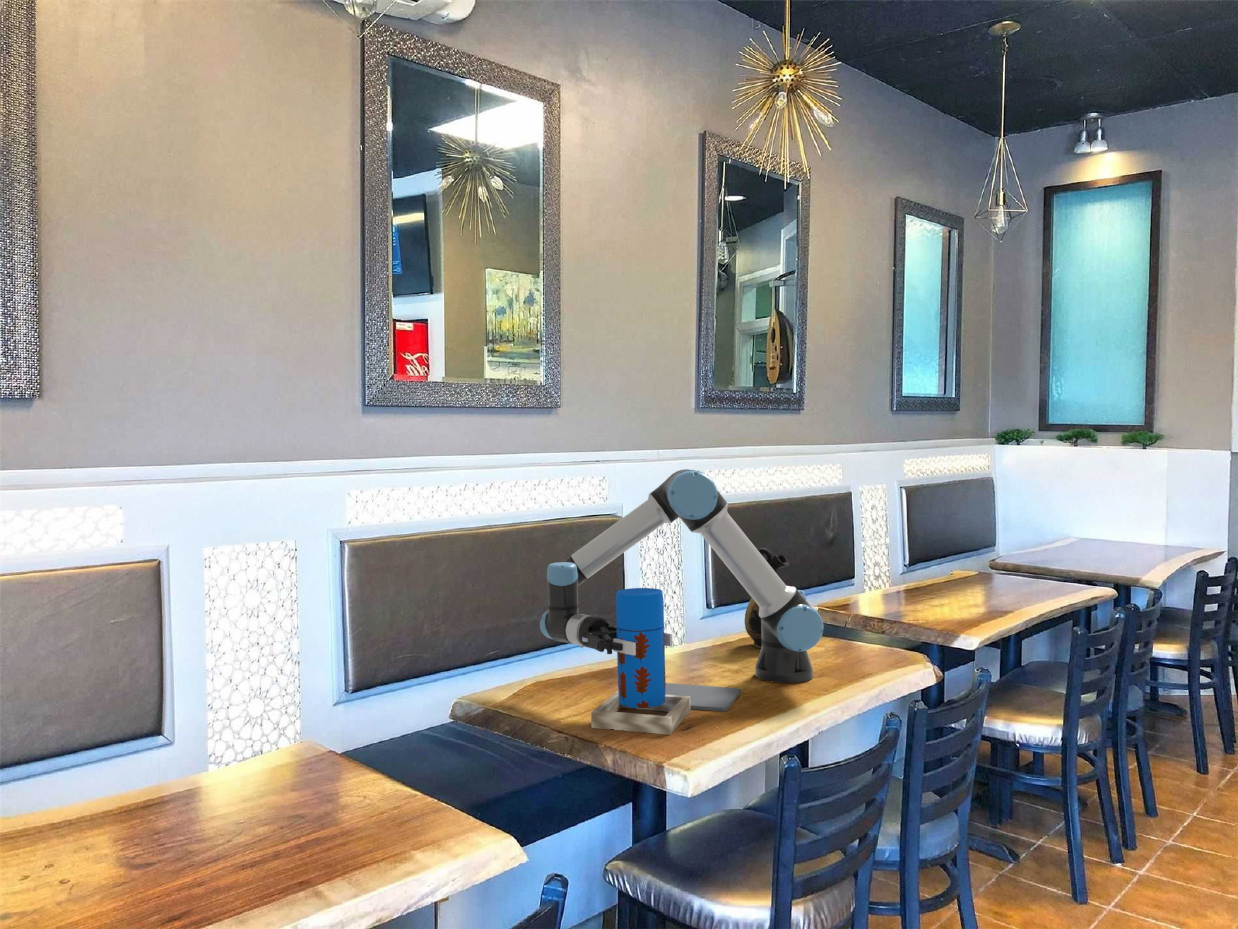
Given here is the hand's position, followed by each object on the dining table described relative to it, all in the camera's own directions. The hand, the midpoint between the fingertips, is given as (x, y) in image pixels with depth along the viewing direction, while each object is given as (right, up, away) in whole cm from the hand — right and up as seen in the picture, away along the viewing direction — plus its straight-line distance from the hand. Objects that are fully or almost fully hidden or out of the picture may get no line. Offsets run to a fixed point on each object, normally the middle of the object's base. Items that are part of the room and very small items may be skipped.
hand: (653, 644), depth 205 cm
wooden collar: (-2, -18, +3) cm, 18 cm away
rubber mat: (+11, -17, +20) cm, 28 cm away
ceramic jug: (+38, -16, +76) cm, 87 cm away
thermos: (-2, -14, +3) cm, 14 cm away
